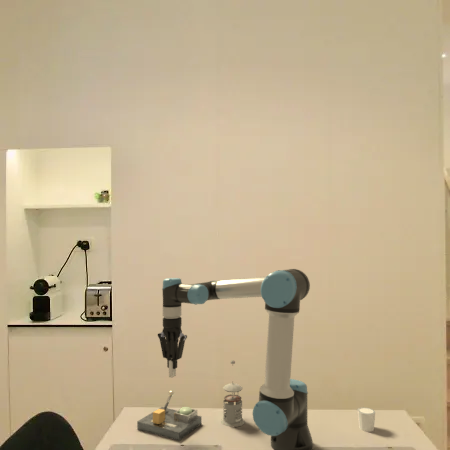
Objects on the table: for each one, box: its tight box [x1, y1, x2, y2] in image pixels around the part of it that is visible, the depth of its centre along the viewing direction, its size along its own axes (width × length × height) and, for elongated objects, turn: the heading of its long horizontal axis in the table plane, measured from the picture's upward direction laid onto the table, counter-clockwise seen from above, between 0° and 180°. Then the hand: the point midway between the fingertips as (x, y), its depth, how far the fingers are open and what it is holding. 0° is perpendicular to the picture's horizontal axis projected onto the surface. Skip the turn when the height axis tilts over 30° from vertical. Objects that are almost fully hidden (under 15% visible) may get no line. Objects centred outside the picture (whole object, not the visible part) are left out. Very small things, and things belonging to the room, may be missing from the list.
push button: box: [179, 406, 193, 415], centre depth 163 cm, size 5×5×3 cm
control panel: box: [136, 406, 202, 442], centre depth 162 cm, size 20×16×6 cm
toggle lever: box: [163, 390, 175, 411], centre depth 167 cm, size 2×2×10 cm
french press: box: [220, 360, 245, 428], centre depth 168 cm, size 10×12×25 cm
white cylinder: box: [356, 406, 376, 433], centre depth 160 cm, size 7×7×7 cm
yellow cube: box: [153, 408, 165, 424], centre depth 159 cm, size 3×4×4 cm
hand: (172, 376), depth 160 cm, fingers closed
